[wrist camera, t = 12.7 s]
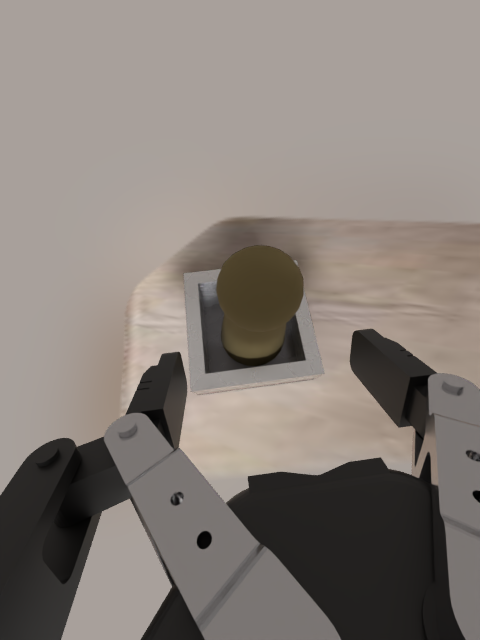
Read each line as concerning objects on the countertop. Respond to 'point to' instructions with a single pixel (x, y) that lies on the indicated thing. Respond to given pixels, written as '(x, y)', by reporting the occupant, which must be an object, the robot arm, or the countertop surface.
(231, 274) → the cork
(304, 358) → the grey shallow square box
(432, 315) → the countertop surface
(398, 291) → the countertop surface
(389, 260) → the countertop surface
